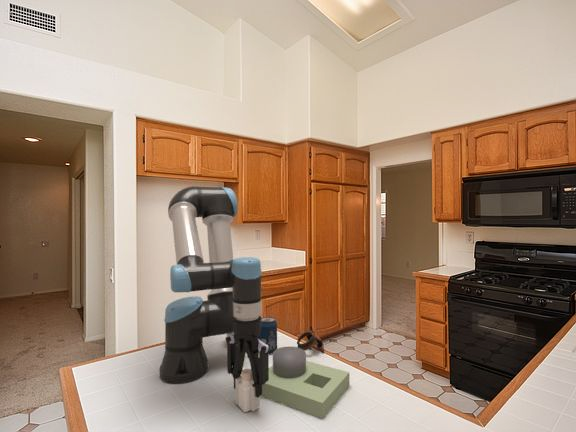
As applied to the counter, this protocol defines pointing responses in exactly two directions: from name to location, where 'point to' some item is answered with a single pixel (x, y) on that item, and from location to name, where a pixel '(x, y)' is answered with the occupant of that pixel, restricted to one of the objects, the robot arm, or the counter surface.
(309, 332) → the dark brown open frame
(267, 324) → the soda can
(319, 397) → the green knob base
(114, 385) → the counter surface
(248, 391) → the pepper shaker
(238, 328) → the robot arm
